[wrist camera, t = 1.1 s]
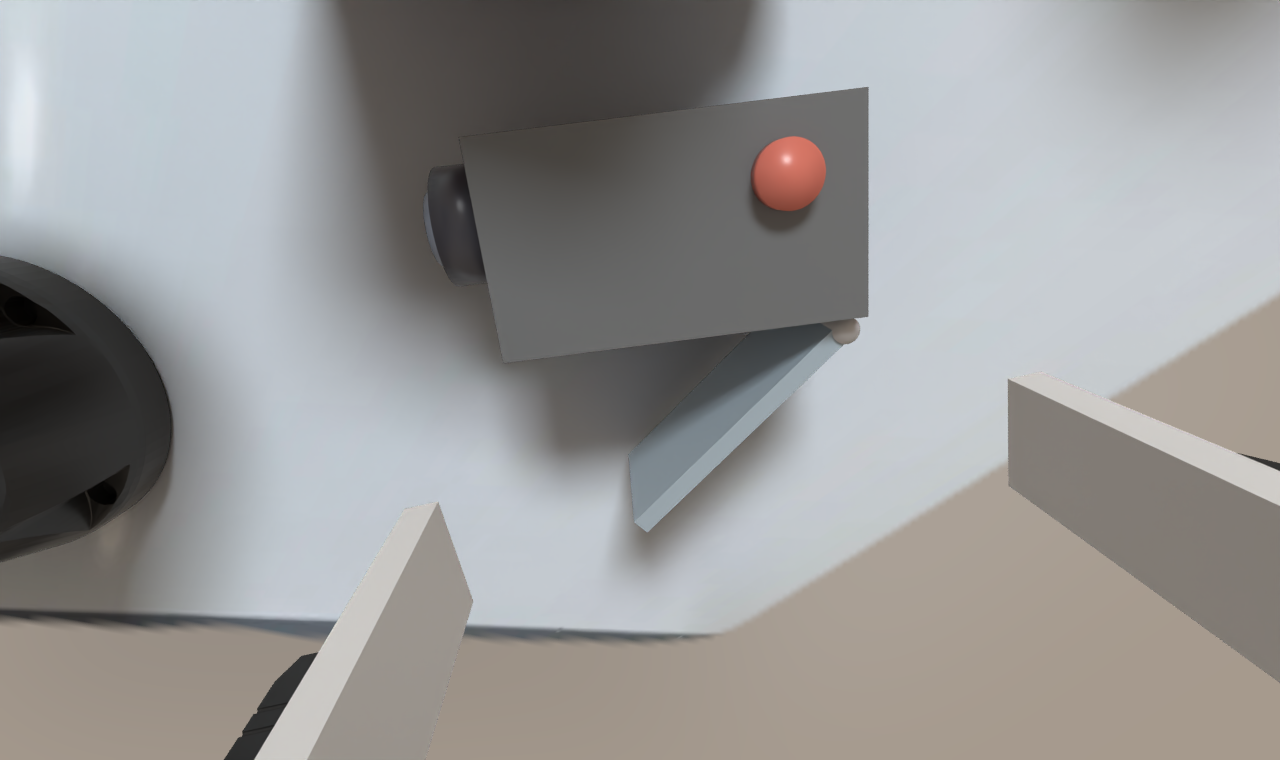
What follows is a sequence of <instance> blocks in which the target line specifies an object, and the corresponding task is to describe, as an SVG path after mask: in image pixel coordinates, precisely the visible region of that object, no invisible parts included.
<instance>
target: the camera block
mask: <svg viewBox="0 0 1280 760" xmlns="http://www.w3.org/2000/svg"><path fill="white" fill-rule="evenodd" d="M459 141H460V146H461V152H462V157H463V162H464V164H459V165H451V166H443V167H435V168H433V169H432V170H431V171H430V174H429V179H428V192H427V193H426V194H425V197H424V202H423V214H424V223H425V228H426V233H427V237H428V241H429V244H430V247H431V250H432V252H433V254H434V257H435V258H436V260H437V262H438V263H439V264H440V265H441V266H443V267H444V269H445V271H446V273H447V275H448V277H449V279H450V280H451V281H452V282H453V283H454V284H455V285H456V286H464V285H472V284H480V283H487V284H488V289H489V294H490V299H491V304H492V309H493V314H494V319H495V324H496V329H497V335H498V340H499V345H500V350H501V355H502V360H503V363H510V362H517V361H525V360H533V359H541V358H549V357H557V356H564V355H572V354H580V353H588V352H596V351H604V350H611V349H619V348H627V347H635V346H643V345H650V344H658V343H666V342H674V341H682V340H690V339H697V338H705V337H713V336H721V335H729V334H736V333H744V332H752V331H760V330H768V329H776V328H783V327H791V326H799V325H807V324H815V323H823V322H830V321H838V320H846V319H854V318H862V317H868V87H864V88H856V89H848V90H840V91H832V92H823V93H815V94H807V95H799V96H791V97H783V98H774V99H766V100H758V101H750V102H742V103H733V104H725V105H717V106H709V107H701V108H693V109H684V110H676V111H668V112H660V113H652V114H643V115H635V116H627V117H619V118H611V119H603V120H594V121H586V122H578V123H570V124H562V125H553V126H545V127H537V128H529V129H521V130H512V131H504V132H496V133H488V134H480V135H472V136H463V137H459Z"/></svg>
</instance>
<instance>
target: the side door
mask: <svg viewBox="0 0 1280 760" xmlns="http://www.w3.org/2000/svg"><path fill="white" fill-rule="evenodd" d="M859 333H860V325H859V323H858V322H857V320H855V319H846V320H838V321H830V322H823V323H815V324H807V325H799V326H791V327H783V328H776V329H768V330H760V331H752V332H750V333H749V334H748V335H747V336H746V337H745V338H744V339H743V340H742V341H741V342H740V343H739V344H738V345H737V346H736V347H735V348H734V349H733V350H732V351H731V352H730V353H729V354H728V355H727V356H726V357H725V358H724V359H723V360H722V361H721V362H720V363H719V364H718V365H717V366H716V367H715V368H714V369H713V370H712V371H711V372H710V373H709V374H708V375H707V376H706V377H705V378H704V379H703V380H702V381H701V382H700V383H699V384H698V385H697V386H696V387H695V388H694V389H693V390H692V391H691V392H690V393H689V394H688V395H687V396H686V397H685V398H684V399H683V400H682V401H681V402H680V403H679V404H678V405H677V406H676V407H675V408H674V409H673V410H672V411H671V412H670V413H669V414H668V415H667V416H666V417H665V418H664V419H663V420H662V421H661V422H660V423H659V424H658V425H657V426H656V427H655V428H654V429H653V430H652V431H651V432H650V433H649V434H648V435H647V436H646V437H645V438H644V439H643V440H642V441H641V442H640V443H639V444H638V445H637V446H636V447H635V448H634V449H633V450H632V451H631V452H630V453H629V454H628V455H629V467H630V479H631V491H632V504H633V516H634V522H635V523H636V524H637V525H638V526H640V527H641V528H642V529H643V530H645V531H646V532H649V531H650V530H651V529H652V528H653V527H654V526H655V525H656V524H657V523H658V522H659V521H660V520H661V519H662V518H663V517H664V516H665V515H666V514H667V513H668V512H669V511H670V510H672V509H673V508H674V507H675V506H676V505H677V504H678V503H679V502H680V501H681V500H682V499H683V498H684V497H685V496H686V495H687V494H688V493H689V492H690V491H691V490H692V489H693V488H695V487H696V486H697V485H698V484H699V483H700V482H701V481H702V480H703V479H704V478H705V477H706V476H707V475H708V474H709V473H710V472H711V471H712V470H713V469H714V468H715V467H716V466H718V465H719V464H720V463H721V462H722V461H723V460H724V459H725V458H726V457H727V456H728V455H729V454H730V453H731V452H732V451H733V450H734V449H735V448H736V447H737V446H738V445H739V444H740V443H742V442H743V441H744V440H745V439H746V438H747V437H748V436H749V435H750V434H751V433H752V432H753V431H754V430H755V429H756V428H757V427H758V426H759V425H760V424H761V423H762V422H763V421H765V420H766V419H767V418H768V417H769V416H770V415H771V414H772V413H773V412H774V411H775V410H776V409H777V408H778V407H779V406H780V405H781V404H782V403H783V402H784V401H785V400H786V399H788V398H789V397H790V396H791V395H792V394H793V393H794V392H795V391H796V390H797V389H798V388H799V387H800V386H801V385H802V384H803V383H804V382H805V381H806V380H807V379H808V378H809V377H811V376H812V375H813V374H814V373H815V372H816V371H817V370H818V369H819V368H820V367H821V366H822V365H823V364H824V363H825V362H826V361H827V360H828V359H829V358H830V357H831V356H832V355H834V354H835V353H836V352H837V351H838V350H839V349H840V348H841V347H842V346H843V345H844V344H849V343H852V342H853V341H855V340H856V339H857V337H858V336H859Z"/></svg>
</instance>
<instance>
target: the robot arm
mask: <svg viewBox="0 0 1280 760" xmlns="http://www.w3.org/2000/svg"><path fill="white" fill-rule="evenodd" d="M170 435H171V421H170V412H169V406H168V401H167V397H166V394H165V390H164V388H163V385H162V382H161V380H160V377H159V375H158V373H157V371H156V369H155V367H154V365H153V363H152V361H151V359H150V358H149V356H148V354H147V353H146V351H145V350H144V348H143V347H142V345H141V344H140V342H139V341H138V340H137V339H136V337H135V336H134V335H133V333H132V332H131V331H130V330H129V329H128V328H127V327H126V326H125V324H124V323H123V322H122V321H121V320H120V319H119V318H118V317H117V316H116V315H115V314H114V313H113V312H111V311H110V310H109V309H108V308H107V307H106V306H105V305H103V304H102V303H101V302H100V301H98V300H97V299H96V298H94V297H93V296H92V295H90V294H89V293H87V292H86V291H85V290H83V289H81V288H80V287H78V286H77V285H75V284H73V283H72V282H70V281H68V280H66V279H64V278H63V277H61V276H59V275H57V274H54V273H52V272H50V271H48V270H46V269H43V268H41V267H38V266H36V265H33V264H30V263H27V262H24V261H20V260H16V259H13V258H9V257H4V256H0V562H4V561H7V560H11V559H14V558H17V557H21V556H24V555H28V554H31V553H35V552H38V551H42V550H45V549H49V548H52V547H55V546H59V545H62V544H65V543H68V542H71V541H73V540H76V539H78V538H81V537H83V536H85V535H87V534H89V533H91V532H93V531H95V530H97V529H98V528H100V527H101V526H103V525H105V524H106V523H108V522H109V521H111V520H112V519H114V518H115V517H117V516H118V515H120V514H121V513H123V512H124V511H126V510H127V509H129V508H130V507H131V506H133V505H134V504H136V503H137V502H138V501H139V500H140V499H141V498H142V497H143V496H144V495H145V494H146V493H147V492H148V491H149V490H150V488H151V487H152V486H153V485H154V483H155V482H156V480H157V478H158V477H159V475H160V473H161V471H162V469H163V466H164V464H165V461H166V458H167V454H168V450H169V445H170ZM1008 471H1009V486H1010V487H1011V488H1012V489H1014V490H1015V491H1017V492H1018V493H1020V494H1021V495H1022V496H1023V497H1025V498H1026V499H1028V500H1029V501H1030V502H1032V503H1033V504H1035V505H1036V506H1037V507H1039V508H1040V509H1041V510H1043V511H1044V512H1045V513H1047V514H1048V515H1050V516H1051V517H1052V518H1054V519H1055V520H1057V521H1058V522H1060V523H1061V524H1062V525H1063V526H1065V527H1066V528H1067V529H1069V530H1070V531H1072V532H1073V533H1074V534H1076V535H1077V536H1079V537H1080V538H1081V539H1083V540H1084V541H1085V542H1087V543H1088V544H1090V545H1091V546H1092V547H1094V548H1095V549H1097V550H1098V551H1099V552H1101V553H1102V554H1103V555H1105V556H1106V557H1107V558H1109V559H1110V560H1112V561H1113V562H1114V563H1116V564H1117V565H1118V566H1120V567H1121V568H1123V569H1124V570H1126V571H1127V572H1128V573H1129V574H1131V575H1132V576H1134V577H1135V578H1136V579H1138V580H1139V581H1141V582H1142V583H1143V584H1145V585H1146V586H1147V587H1149V588H1150V589H1151V590H1153V591H1154V592H1156V593H1157V594H1158V595H1160V596H1161V597H1162V598H1164V599H1165V600H1167V601H1168V602H1169V603H1171V604H1172V605H1173V606H1175V607H1176V608H1178V609H1179V610H1180V611H1182V612H1183V613H1184V614H1186V615H1188V616H1189V617H1190V618H1191V619H1193V620H1194V621H1196V622H1197V623H1198V624H1200V625H1201V626H1202V627H1204V628H1205V629H1207V630H1208V631H1209V632H1211V633H1212V634H1214V635H1215V636H1216V637H1218V638H1219V639H1220V640H1222V641H1223V642H1224V643H1226V644H1227V645H1229V646H1230V647H1231V648H1233V649H1234V650H1236V651H1237V652H1238V653H1240V654H1241V655H1242V656H1244V657H1245V658H1246V659H1248V660H1249V661H1251V662H1252V663H1253V664H1255V665H1256V666H1257V667H1259V668H1260V669H1262V670H1263V671H1264V672H1266V673H1267V674H1269V675H1270V676H1271V677H1273V678H1274V679H1275V680H1277V681H1278V682H1280V463H1277V462H1272V461H1268V460H1264V459H1259V458H1256V457H1252V456H1247V455H1243V454H1239V453H1235V452H1233V451H1230V450H1228V449H1226V448H1223V447H1221V446H1218V445H1216V444H1213V443H1211V442H1209V441H1206V440H1204V439H1202V438H1199V437H1197V436H1194V435H1192V434H1190V433H1187V432H1185V431H1182V430H1180V429H1177V428H1175V427H1172V426H1170V425H1168V424H1166V423H1163V422H1161V421H1158V420H1156V419H1153V418H1151V417H1149V416H1146V415H1144V414H1141V413H1139V412H1137V411H1134V410H1132V409H1129V408H1127V407H1124V406H1122V405H1120V404H1117V403H1115V402H1113V401H1110V400H1108V399H1105V398H1103V397H1101V396H1098V395H1096V394H1093V393H1091V392H1089V391H1086V390H1084V389H1081V388H1079V387H1077V386H1074V385H1072V384H1069V383H1067V382H1065V381H1062V380H1060V379H1057V378H1055V377H1053V376H1050V375H1048V374H1045V373H1043V372H1038V373H1033V374H1028V375H1024V376H1019V377H1014V378H1010V379H1008ZM472 603H473V599H472V596H471V594H470V591H469V588H468V585H467V582H466V579H465V577H464V574H463V571H462V568H461V565H460V562H459V560H458V557H457V554H456V551H455V548H454V545H453V543H452V540H451V537H450V534H449V531H448V529H447V526H446V523H445V520H444V517H443V514H442V512H441V509H440V506H439V503H438V502H434V503H429V504H425V505H420V506H415V507H411V508H406V509H404V511H403V512H402V514H401V516H400V517H399V519H398V521H397V522H396V524H395V526H394V527H393V529H392V531H391V532H390V534H389V536H388V537H387V539H386V541H385V542H384V544H383V546H382V547H381V549H380V551H379V552H378V554H377V556H376V557H375V559H374V561H373V562H372V564H371V566H370V567H369V569H368V571H367V572H366V574H365V576H364V577H363V579H362V581H361V582H360V584H359V586H358V587H357V589H356V591H355V592H354V594H353V596H352V597H351V599H350V601H349V602H348V604H347V606H346V607H345V609H344V611H343V612H342V614H341V616H340V617H339V619H338V621H337V622H336V624H335V626H334V627H333V629H332V631H331V632H330V634H329V636H328V637H327V639H326V641H325V642H324V644H323V646H322V648H321V649H320V651H319V652H318V653H313V654H309V655H304V656H301V657H300V658H299V659H298V660H297V661H296V662H295V663H294V664H293V665H292V666H291V667H290V668H289V669H288V670H287V671H286V672H284V673H283V674H282V675H281V676H280V677H279V678H278V679H277V680H276V681H275V682H274V684H273V685H272V687H271V688H270V690H269V692H268V693H267V695H266V696H265V698H264V699H263V701H262V702H261V704H260V705H259V707H258V708H257V710H258V712H257V714H253V716H252V718H251V719H250V721H249V722H248V724H247V725H246V727H245V728H244V730H243V731H242V732H243V735H242V737H239V738H238V739H237V741H236V742H235V744H234V745H233V747H232V748H231V750H230V751H229V753H228V755H227V756H226V757H225V759H224V760H425V759H426V756H427V753H428V750H429V746H430V743H431V740H432V736H433V733H434V730H435V726H436V723H437V720H438V716H439V713H440V710H441V707H442V703H443V700H444V697H445V693H446V690H447V687H448V683H449V680H450V677H451V673H452V670H453V667H454V663H455V660H456V656H457V653H458V650H459V646H460V643H461V640H462V637H463V633H464V630H465V627H466V623H467V620H468V617H469V613H470V610H471V607H472Z"/></svg>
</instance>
